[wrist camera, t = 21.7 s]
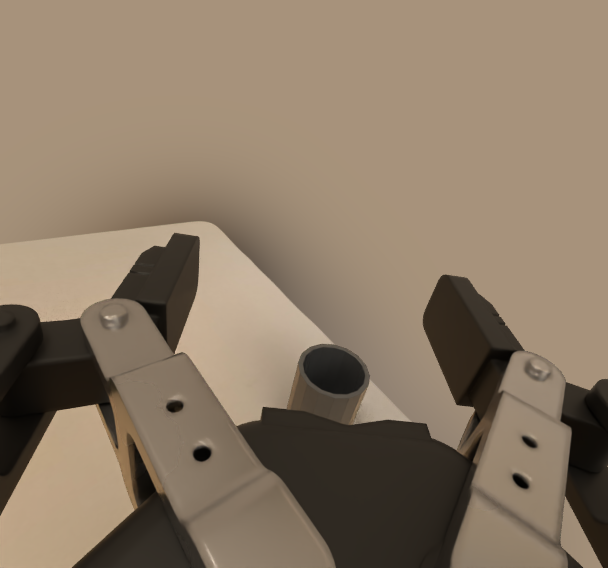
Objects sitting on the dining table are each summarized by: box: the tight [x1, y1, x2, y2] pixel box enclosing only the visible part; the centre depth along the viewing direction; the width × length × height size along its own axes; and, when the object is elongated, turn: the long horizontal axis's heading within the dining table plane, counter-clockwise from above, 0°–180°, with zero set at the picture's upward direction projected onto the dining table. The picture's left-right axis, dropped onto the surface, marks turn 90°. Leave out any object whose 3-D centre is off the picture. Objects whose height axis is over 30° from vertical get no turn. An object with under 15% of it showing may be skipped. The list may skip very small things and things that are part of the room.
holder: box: [287, 344, 370, 425], centre depth 42 cm, size 7×7×9 cm
